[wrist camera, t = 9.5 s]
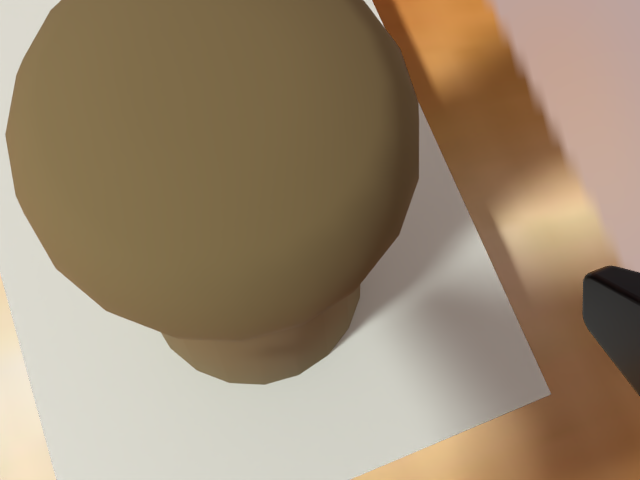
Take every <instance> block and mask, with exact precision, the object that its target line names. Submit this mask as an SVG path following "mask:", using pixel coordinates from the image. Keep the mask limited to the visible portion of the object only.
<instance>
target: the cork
mask: <svg viewBox="0 0 640 480" xmlns="http://www.w3.org/2000/svg"><path fill="white" fill-rule="evenodd" d="M5 137H6V142H7V148H8V154H9V160H10V166H11V172H12V178H13V184H14V189H15V195H16V198H17V200H18V202H19V204H20V206H21V208H22V211H23V213H24V215H25V216H26V218H27V220H28V222H29V223H30V225H31V227H32V228H33V230H34V232H35V234H36V235H37V237H38V239H39V241H40V242H41V244H42V246H43V247H44V249H45V251H46V253H47V254H48V256H49V258H50V260H51V261H52V263H53V265H54V267H55V268H56V269H57V270H58V271H59V272H60V273H62V274H63V275H64V276H65V277H66V278H67V279H69V280H70V281H71V282H72V283H73V284H75V285H76V286H77V287H78V288H79V289H81V290H82V291H83V292H84V293H85V294H86V295H88V296H89V297H90V298H91V299H92V300H94V301H95V302H96V303H97V304H98V305H100V306H101V307H102V308H103V309H104V310H105V311H107V312H110V313H112V314H115V315H117V316H120V317H122V318H125V319H128V320H130V321H133V322H135V323H138V324H141V325H143V326H146V327H148V328H151V329H154V330H156V331H159V332H161V334H162V335H163V337H164V339H165V340H166V342H167V344H168V345H169V347H170V348H171V349H172V350H173V351H174V352H175V353H177V354H178V355H179V356H180V357H181V358H183V359H184V360H185V361H186V362H187V363H189V364H190V365H191V366H192V367H193V368H194V369H196V370H197V371H199V372H202V373H205V374H207V375H210V376H212V377H215V378H218V379H220V380H223V381H225V382H228V383H238V384H260V385H266V384H269V383H273V382H276V381H280V380H283V379H287V378H290V377H294V376H297V375H300V374H301V373H303V372H304V371H306V370H307V369H309V368H310V367H312V366H313V365H315V364H316V363H318V362H319V361H320V360H322V359H323V358H325V357H326V356H328V355H329V353H330V352H331V351H332V349H333V348H334V347H335V346H336V344H337V343H338V342H339V340H340V339H341V338H342V337H343V335H344V334H345V333H346V331H347V330H348V329H349V327H350V324H351V321H352V318H353V315H354V313H355V310H356V307H357V304H358V301H359V299H360V284H361V283H362V282H363V280H364V279H365V278H366V276H367V275H368V274H369V273H370V271H371V270H372V269H373V268H374V266H375V265H376V264H377V263H378V261H379V260H380V259H381V257H382V256H383V255H384V254H385V252H386V251H387V250H388V249H389V247H390V246H391V245H392V244H393V242H394V241H395V240H396V238H397V237H398V236H399V234H400V231H401V228H402V226H403V223H404V220H405V217H406V214H407V211H408V208H409V206H410V203H411V200H412V197H413V194H414V191H415V188H416V186H417V183H418V180H419V105H418V100H417V97H416V94H415V91H414V88H413V85H412V82H411V79H410V76H409V73H408V70H407V67H406V65H405V62H404V59H403V56H402V53H401V50H400V48H399V46H398V45H397V44H396V42H395V41H394V40H393V38H392V37H391V36H390V34H389V33H388V32H387V30H386V29H385V28H384V26H383V25H382V24H381V22H380V21H379V20H378V18H377V17H376V16H375V14H374V13H373V12H372V10H371V9H370V8H369V6H368V5H367V4H366V2H365V1H364V0H61V1H60V2H59V3H58V4H57V5H55V6H54V7H53V8H52V9H51V10H50V12H49V14H48V16H47V17H46V19H45V21H44V23H43V24H42V26H41V28H40V30H39V31H38V33H37V35H36V37H35V38H34V40H33V42H32V44H31V45H30V47H29V49H28V51H27V53H26V54H25V56H24V58H23V60H22V62H21V65H20V67H19V69H18V72H17V74H16V79H15V84H14V90H13V95H12V101H11V106H10V111H9V117H8V122H7V128H6V133H5Z"/></svg>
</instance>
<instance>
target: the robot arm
mask: <svg viewBox="0 0 640 480" xmlns="http://www.w3.org/2000/svg"><path fill="white" fill-rule="evenodd" d="M583 319H584V322H585V324H586V326H587V328H588V330H589V331H590V332H591V334H592V335H593V336H594V338H595V339H596V340H597V342H598V343H599V344H600V345H601V347H602V348H603V349H604V351H605V352H606V353H607V355H608V356H609V357H610V358H611V360H612V361H613V362H614V364H615V365H616V366H617V368H618V369H619V370H620V371H621V373H622V374H623V375H624V377H625V378H626V379H627V381H628V382H629V383H630V385H631V386H632V387H633V388H634V390H635V391H636V392H637V394H638V395H639V396H640V273H639V272H635V271H631V270H628V269H624V268H620V267H616V266H605V267H603V268H600V269H598V270H595V271H593V272H590V273H588V274H587V275H586V276H585V278H584V280H583Z"/></svg>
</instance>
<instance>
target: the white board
mask: <svg viewBox="0 0 640 480" xmlns="http://www.w3.org/2000/svg"><path fill="white" fill-rule="evenodd" d="M60 1H61V0H0V274H1V278H2V281H3V285H4V289H5V292H6V296H7V300H8V303H9V307H10V311H11V315H12V318H13V322H14V326H15V329H16V333H17V337H18V340H19V344H20V348H21V351H22V355H23V359H24V362H25V366H26V370H27V373H28V377H29V381H30V384H31V388H32V392H33V395H34V399H35V403H36V406H37V410H38V414H39V417H40V421H41V425H42V428H43V432H44V436H45V440H46V443H47V447H48V451H49V454H50V458H51V462H52V465H53V469H54V473H55V476H56V480H350V479H353V478H355V477H357V476H360V475H362V474H364V473H367V472H369V471H372V470H374V469H376V468H379V467H381V466H383V465H386V464H388V463H390V462H393V461H395V460H398V459H400V458H402V457H405V456H407V455H409V454H412V453H414V452H416V451H419V450H421V449H423V448H426V447H428V446H431V445H433V444H435V443H438V442H440V441H442V440H445V439H447V438H449V437H452V436H454V435H457V434H459V433H461V432H464V431H466V430H468V429H471V428H473V427H475V426H478V425H480V424H483V423H485V422H487V421H490V420H492V419H494V418H497V417H499V416H501V415H504V414H506V413H508V412H511V411H513V410H516V409H518V408H520V407H523V406H525V405H527V404H530V403H532V402H534V401H537V400H539V399H542V398H544V397H546V396H549V395H551V392H550V390H549V388H548V386H547V383H546V381H545V379H544V377H543V375H542V372H541V370H540V368H539V366H538V364H537V362H536V359H535V357H534V355H533V353H532V351H531V348H530V346H529V344H528V342H527V340H526V337H525V335H524V333H523V331H522V329H521V326H520V324H519V322H518V320H517V318H516V315H515V313H514V311H513V309H512V307H511V304H510V302H509V300H508V298H507V296H506V293H505V291H504V289H503V287H502V285H501V282H500V280H499V278H498V276H497V274H496V271H495V269H494V267H493V265H492V263H491V260H490V258H489V256H488V254H487V252H486V249H485V247H484V245H483V243H482V241H481V238H480V236H479V234H478V232H477V230H476V227H475V225H474V223H473V221H472V219H471V217H470V214H469V212H468V210H467V208H466V206H465V203H464V201H463V199H462V197H461V195H460V192H459V190H458V188H457V186H456V184H455V181H454V179H453V177H452V175H451V173H450V170H449V168H448V166H447V164H446V162H445V159H444V157H443V155H442V153H441V151H440V148H439V146H438V144H437V142H436V140H435V137H434V135H433V133H432V131H431V129H430V126H429V124H428V122H427V120H426V118H425V115H424V113H423V111H422V109H421V107H420V104H419V102H418V105H419V180H418V183H417V186H416V188H415V191H414V194H413V197H412V200H411V203H410V206H409V208H408V211H407V214H406V217H405V220H404V223H403V226H402V228H401V231H400V234H399V236H398V237H397V238H396V240H395V241H394V242H393V244H392V245H391V246H390V247H389V249H388V250H387V251H386V252H385V254H384V255H383V256H382V257H381V259H380V260H379V261H378V263H377V264H376V265H375V266H374V268H373V269H372V270H371V271H370V273H369V274H368V275H367V276H366V278H365V279H364V280H363V282H362V283H361V284H360V299H359V301H358V304H357V307H356V310H355V313H354V315H353V318H352V321H351V324H350V327H349V329H348V330H347V331H346V333H345V334H344V335H343V337H342V338H341V339H340V340H339V342H338V343H337V344H336V346H335V347H334V348H333V349H332V351H331V352H330V353H329V355H328V356H326V357H325V358H323V359H322V360H320V361H319V362H318V363H316V364H315V365H313V366H312V367H310V368H309V369H307V370H306V371H304V372H303V373H301V374H300V375H297V376H294V377H290V378H287V379H283V380H280V381H276V382H273V383H269V384H266V385H260V384H238V383H228V382H225V381H223V380H220V379H218V378H215V377H212V376H210V375H207V374H205V373H202V372H199V371H197V370H196V369H194V368H193V367H192V366H191V365H190V364H189V363H187V362H186V361H185V360H184V359H183V358H181V357H180V356H179V355H178V354H177V353H175V352H174V351H173V350H172V349H171V348H170V347H169V345H168V344H167V342H166V340H165V339H164V337H163V335H162V334H161V332H159V331H156V330H154V329H151V328H148V327H146V326H143V325H141V324H138V323H135V322H133V321H130V320H128V319H125V318H122V317H120V316H117V315H115V314H112V313H110V312H107V311H105V310H104V309H103V308H102V307H101V306H100V305H98V304H97V303H96V302H95V301H94V300H92V299H91V298H90V297H89V296H88V295H86V294H85V293H84V292H83V291H82V290H81V289H79V288H78V287H77V286H76V285H75V284H73V283H72V282H71V281H70V280H69V279H67V278H66V277H65V276H64V275H63V274H62V273H60V272H59V271H58V270H57V269H56V268H55V267H54V265H53V263H52V261H51V260H50V258H49V256H48V254H47V253H46V251H45V249H44V247H43V246H42V244H41V242H40V241H39V239H38V237H37V235H36V234H35V232H34V230H33V228H32V227H31V225H30V223H29V222H28V220H27V218H26V216H25V215H24V213H23V211H22V208H21V206H20V204H19V202H18V200H17V198H16V195H15V189H14V184H13V178H12V172H11V166H10V160H9V154H8V148H7V142H6V137H5V133H6V128H7V122H8V117H9V111H10V106H11V101H12V95H13V90H14V84H15V79H16V74H17V72H18V69H19V67H20V65H21V62H22V60H23V58H24V56H25V54H26V53H27V51H28V49H29V47H30V45H31V44H32V42H33V40H34V38H35V37H36V35H37V33H38V31H39V30H40V28H41V26H42V24H43V23H44V21H45V19H46V17H47V16H48V14H49V12H50V10H51V9H52V8H53V7H54V6H55V5H57V4H58V3H59V2H60ZM364 1H365V2H366V4H367V5H368V6H369V8H370V9H371V10H372V12H373V13H374V14H375V16H376V17H377V18H378V20H379V21H380V22H381V24H382V25H383V23H382V21H381V19H380V17H379V14H378V12H377V10H376V8H375V6H374V3H373V1H372V0H364ZM383 26H384V25H383Z"/></svg>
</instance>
